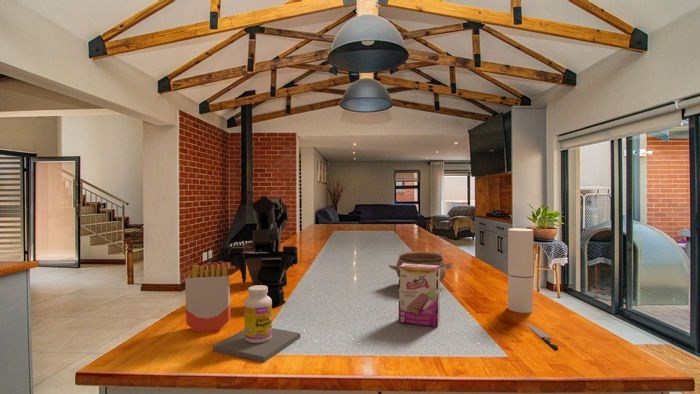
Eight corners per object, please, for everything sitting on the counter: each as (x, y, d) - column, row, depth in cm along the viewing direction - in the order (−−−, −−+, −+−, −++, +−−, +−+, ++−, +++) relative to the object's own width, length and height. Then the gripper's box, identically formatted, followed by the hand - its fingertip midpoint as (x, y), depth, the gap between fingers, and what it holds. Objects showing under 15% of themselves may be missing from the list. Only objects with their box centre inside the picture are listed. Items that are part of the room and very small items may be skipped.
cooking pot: (443, 279, 158) (443, 250, 157) (461, 292, 139) (461, 259, 139) (383, 282, 155) (383, 252, 155) (394, 295, 136) (394, 261, 136)
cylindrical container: (532, 307, 122) (533, 228, 121) (533, 314, 115) (533, 231, 114) (508, 304, 125) (508, 227, 124) (507, 311, 118) (507, 230, 117)
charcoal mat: (213, 350, 91) (212, 345, 91) (253, 329, 105) (253, 324, 105) (264, 362, 85) (264, 356, 85) (300, 337, 99) (300, 333, 99)
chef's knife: (532, 323, 109) (522, 322, 109) (533, 319, 109) (522, 318, 109) (567, 352, 90) (554, 351, 90) (567, 347, 90) (554, 346, 90)
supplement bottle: (253, 346, 90) (253, 292, 90) (239, 339, 95) (238, 287, 95) (277, 338, 95) (276, 287, 95) (262, 331, 100) (262, 282, 100)
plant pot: (277, 288, 147) (276, 246, 146) (238, 288, 147) (237, 247, 147) (284, 278, 162) (283, 241, 161) (249, 279, 162) (248, 241, 162)
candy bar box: (398, 323, 108) (397, 266, 108) (401, 317, 113) (401, 262, 112) (438, 328, 104) (438, 268, 104) (440, 322, 109) (440, 264, 109)
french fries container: (190, 327, 107) (189, 262, 106) (230, 324, 109) (229, 261, 108) (186, 333, 102) (185, 266, 102) (228, 330, 104) (227, 264, 104)
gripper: (228, 218, 106) (220, 266, 95) (296, 217, 108) (295, 264, 97) (235, 242, 114) (227, 289, 103) (298, 241, 116) (297, 287, 105)
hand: (261, 282), depth 102 cm, fingers open, 9 cm apart
